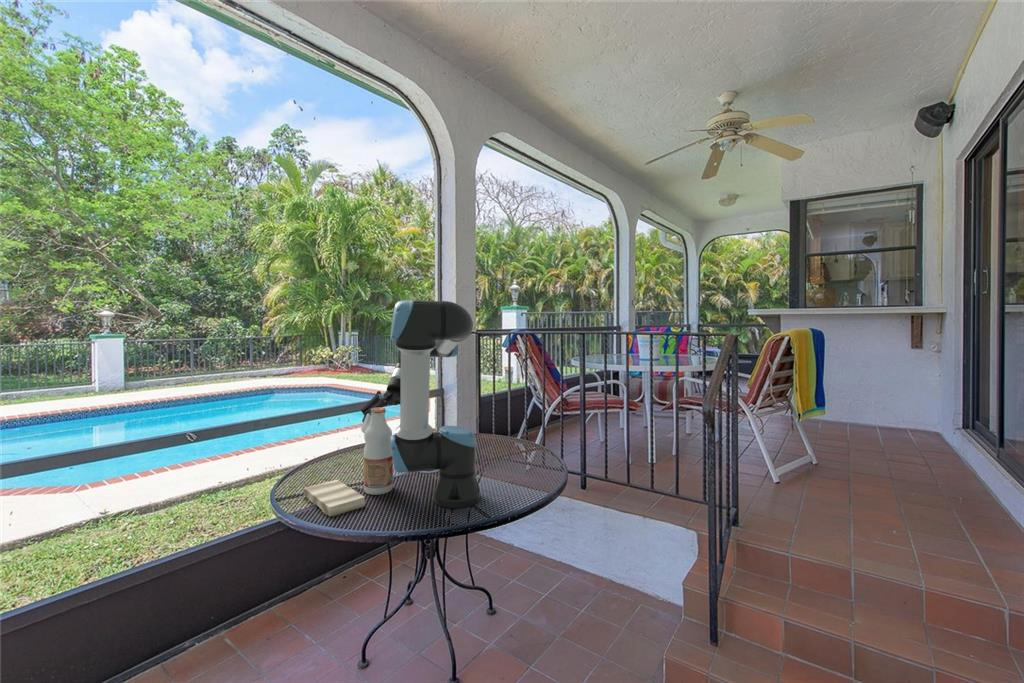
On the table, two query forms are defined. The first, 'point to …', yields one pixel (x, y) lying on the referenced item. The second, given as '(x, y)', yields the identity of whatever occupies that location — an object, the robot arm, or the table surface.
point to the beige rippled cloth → (334, 497)
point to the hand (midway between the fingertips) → (381, 432)
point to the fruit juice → (378, 454)
